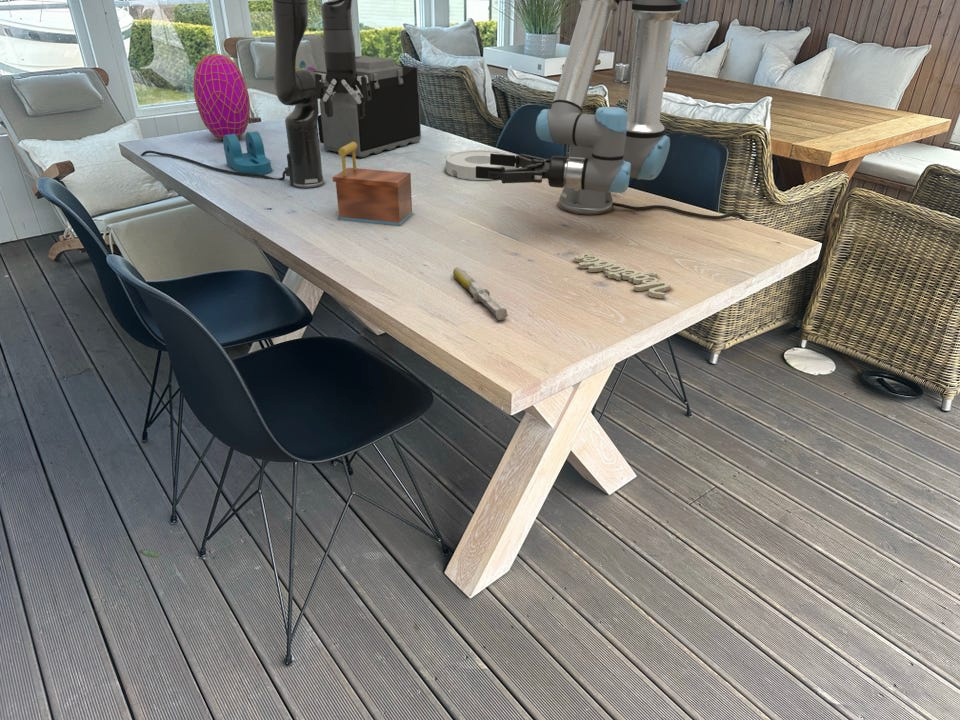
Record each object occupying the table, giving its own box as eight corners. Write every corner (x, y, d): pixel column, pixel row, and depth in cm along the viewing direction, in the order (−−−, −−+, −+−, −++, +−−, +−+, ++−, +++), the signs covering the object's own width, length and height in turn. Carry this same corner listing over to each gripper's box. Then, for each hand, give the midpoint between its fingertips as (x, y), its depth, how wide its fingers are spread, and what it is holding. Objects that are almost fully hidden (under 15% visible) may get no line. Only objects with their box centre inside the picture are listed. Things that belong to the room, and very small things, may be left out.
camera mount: (227, 164, 233) (221, 132, 227) (257, 160, 238) (252, 129, 233) (244, 176, 220) (239, 143, 215) (276, 172, 225) (271, 139, 220)
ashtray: (448, 160, 240) (448, 149, 238) (514, 162, 240) (514, 150, 238) (443, 179, 220) (443, 166, 218) (515, 180, 220) (515, 168, 218)
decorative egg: (219, 147, 253) (203, 59, 238) (193, 139, 264) (176, 54, 249) (265, 139, 265) (252, 54, 250) (238, 131, 276) (225, 50, 261)
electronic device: (383, 133, 276) (378, 52, 261) (425, 141, 265) (422, 56, 250) (314, 150, 251) (304, 61, 235) (358, 160, 240) (350, 67, 224)
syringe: (449, 274, 155) (449, 263, 153) (465, 272, 156) (464, 260, 154) (490, 323, 135) (491, 310, 133) (508, 319, 136) (508, 307, 134)
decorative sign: (686, 282, 150) (660, 295, 144) (686, 286, 150) (659, 300, 144) (592, 249, 166) (565, 259, 160) (592, 253, 167) (565, 263, 161)
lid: (333, 181, 182) (329, 148, 177) (348, 172, 190) (345, 140, 185) (397, 187, 178) (396, 153, 173) (410, 177, 186) (409, 144, 181)
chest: (339, 219, 187) (335, 182, 181) (354, 208, 195) (350, 172, 190) (399, 225, 183) (397, 187, 178) (412, 214, 191) (410, 177, 186)
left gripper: (372, 48, 171) (376, 116, 179) (319, 46, 174) (326, 113, 182) (360, 52, 164) (365, 122, 173) (306, 49, 167) (313, 118, 176)
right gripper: (556, 201, 161) (469, 193, 166) (573, 175, 182) (495, 168, 187) (558, 169, 157) (469, 161, 162) (575, 146, 178) (496, 139, 183)
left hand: (345, 117), depth 177 cm, fingers open, 8 cm apart
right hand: (483, 165), depth 174 cm, fingers open, 13 cm apart
